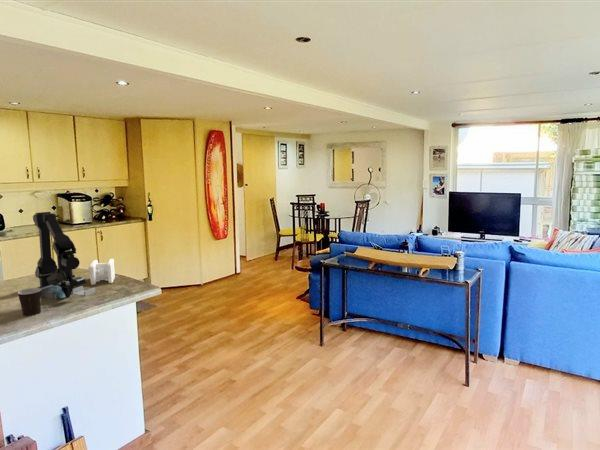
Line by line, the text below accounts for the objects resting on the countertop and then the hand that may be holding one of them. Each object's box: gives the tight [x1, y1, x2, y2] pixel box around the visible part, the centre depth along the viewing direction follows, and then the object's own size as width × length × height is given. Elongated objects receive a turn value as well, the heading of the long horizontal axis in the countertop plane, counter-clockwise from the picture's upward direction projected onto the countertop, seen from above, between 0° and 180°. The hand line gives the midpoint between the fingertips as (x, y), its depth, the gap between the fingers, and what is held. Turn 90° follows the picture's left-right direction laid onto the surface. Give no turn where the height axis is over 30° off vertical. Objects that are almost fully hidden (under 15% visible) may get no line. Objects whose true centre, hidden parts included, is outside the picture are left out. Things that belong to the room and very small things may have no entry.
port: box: [40, 285, 58, 301], centre depth 202 cm, size 11×12×6 cm
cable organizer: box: [88, 258, 116, 286], centre depth 225 cm, size 15×11×12 cm
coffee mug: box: [17, 287, 42, 317], centre depth 180 cm, size 12×9×10 cm
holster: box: [71, 285, 96, 296], centre depth 206 cm, size 9×6×3 cm
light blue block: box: [51, 285, 66, 299], centre depth 201 cm, size 6×4×6 cm, turn 70°
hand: (67, 297), depth 199 cm, fingers closed
